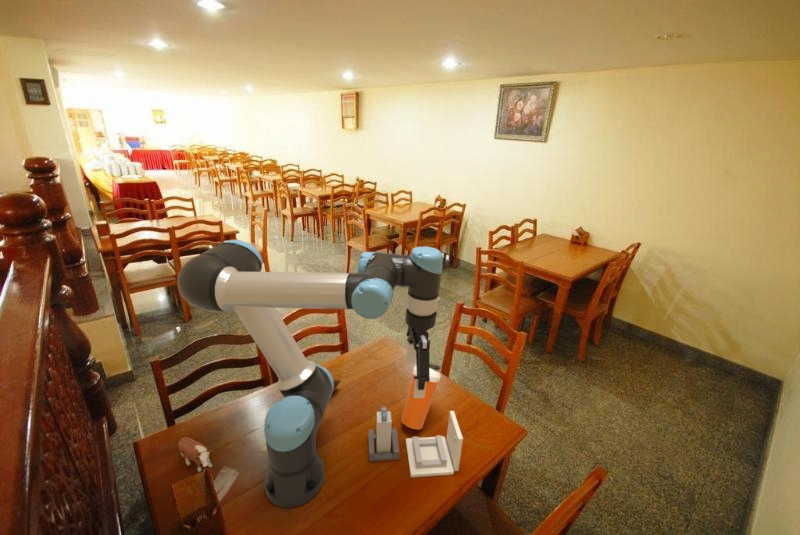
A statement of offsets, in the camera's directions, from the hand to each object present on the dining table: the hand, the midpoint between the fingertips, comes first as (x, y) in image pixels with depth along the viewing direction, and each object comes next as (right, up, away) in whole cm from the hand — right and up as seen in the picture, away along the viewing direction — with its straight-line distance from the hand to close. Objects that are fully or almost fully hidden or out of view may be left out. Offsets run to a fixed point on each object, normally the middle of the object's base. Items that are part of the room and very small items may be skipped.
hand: (414, 379), depth 94 cm
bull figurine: (-59, -25, +2) cm, 64 cm away
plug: (-9, -24, +10) cm, 27 cm away
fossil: (-31, -16, +29) cm, 45 cm away
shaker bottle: (0, -20, +17) cm, 26 cm away
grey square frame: (-9, -24, +10) cm, 27 cm away
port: (+4, -25, +8) cm, 27 cm away
